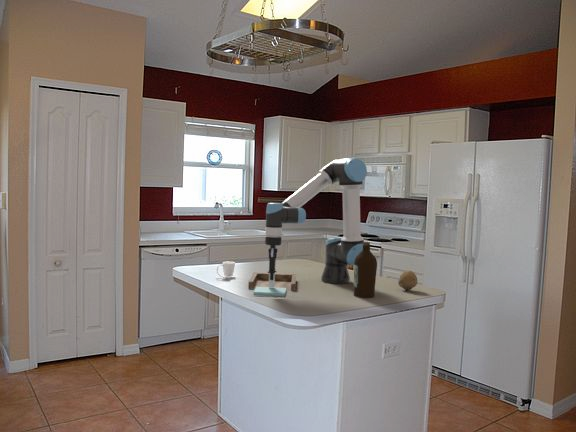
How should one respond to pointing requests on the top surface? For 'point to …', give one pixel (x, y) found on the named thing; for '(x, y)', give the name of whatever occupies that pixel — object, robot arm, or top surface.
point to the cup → (227, 269)
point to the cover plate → (269, 291)
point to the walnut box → (280, 281)
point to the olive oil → (365, 273)
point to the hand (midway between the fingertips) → (271, 286)
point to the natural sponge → (407, 280)
